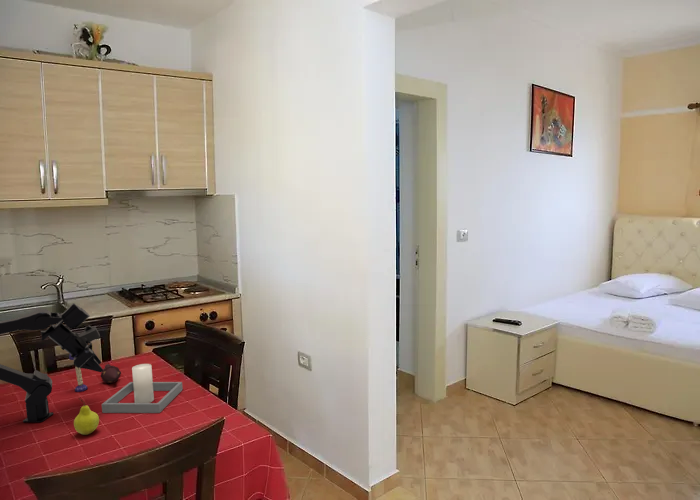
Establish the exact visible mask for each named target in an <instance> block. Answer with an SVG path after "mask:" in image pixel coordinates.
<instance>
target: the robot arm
mask: <svg viewBox="0 0 700 500" xmlns="http://www.w3.org/2000/svg"><path fill="white" fill-rule="evenodd" d="M89 317H90V315H89V313H88V312H87V311H86V310H85V309H84V308H83V307H80V306H79V305H78V304H76V303H75V302H74V303H73V302H72V304H71V305H69V307H68V308H66V309H65V311H64V312H51V311H49V310H48V309H47V308H40V309H36V310H34V311H31V312H28V313H26V314H24V315H22V316H19V317H15V318H14V317H13V318H9V319H4V320H0V335H2V334H3V335H4V334H8V333H13V332H18V331H19V332H20V331H40V335H41V341H44V340H46V339H47V338H48V337H49V339H50V340H52V341H53V342H54V343H56V344H57V345H58V346H60V349H61V350H62V351H65V352H67V353H69V354H71V357H72V358H74V360H73V365H74V366H75V367H77V368H81V369H84V370H89V371H93V372H94V371H95V372H99V373H101V372H102V371H103V369H104V368H103V367H102V366H101V363H102V361H101V359H100V357H98V355H97V354H96V353H95V352H94V350H93V342H92V341H95V340H98V339H100V338H101V335H100V332H99V331H98V329H97V327H96V326H93V327H92V326H91V325H87V326H85V327H84V331H82V333H80V334H79V333H78V332H73V331H72V330H71V329H77V328H79V327H80V326H81V325H82V324H83V323H84V322H85V321H86V320H87V319H88V318H89ZM63 323H64V324H63ZM0 381H2V382H6V383H9V384H11V385H15V386H17V387H18V388H21V389H22V390H23V391H24V392H26V394H25V399H24V403H25V410H26V418H25V419H23V420H22V422H23V423H42V422H44V421H45V420H47V419H48V418H50V417H51V416H53V415H54V412H51V411H50V408H49V401H48V396H49V395H51V393H52V391H53V380H52V378H51V377H50V376H49V375H48V373H42V372H40V371H39V370H37V369H35V370H34V372H33V373H25V372H24V371H20V370H17V369H15V368H12V367H9V366H7V365H3V364H1V363H0Z"/></svg>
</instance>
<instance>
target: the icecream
mask: <svg viewBox="0 0 700 500" xmlns="http://www.w3.org/2000/svg"><path fill="white" fill-rule="evenodd" d="M102 369H103V371H102V372H100V377H101V380H102V382H104V383H106V384H109V383H110V384H113V383H116V382H117V381H118V380H119V378H121V376H122V375H121V374H122V371H121V370H120V368H119V367H118V366H116V365H115V366H114V365H111V364H110V363H107V364H105V365H104V368H102Z"/></svg>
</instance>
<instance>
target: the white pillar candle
mask: <svg viewBox="0 0 700 500" xmlns="http://www.w3.org/2000/svg"><path fill="white" fill-rule="evenodd" d="M131 371H132V382H133V387H134V391H133V396H134V403H152V402H154V400H155V395H154V394H155V393H154V392H155V391H153V382H154V381H153V369H152V364H151V363H140V364H136V365H134V366H132V367H131Z"/></svg>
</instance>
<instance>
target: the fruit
mask: <svg viewBox="0 0 700 500" xmlns="http://www.w3.org/2000/svg"><path fill="white" fill-rule="evenodd" d="M78 400H79V401H81V402H83V405H82V406H81V408H80V409H79V413H78V414H77V415H76V416H75V418H74V420H73V426H74V427H73V428H74V429H75V431H76V432H77V433H78V434H81V435H82V436H88V435H91V434H92V433H93V432H94V431H95V430H96V429H97V428H98V427H99V423H100V416H99V415H98V414H97V412H94V411H92V410H91V409H90V407H89V405H86V404H85V402H84V400H83V399H81V398H80V397H78Z"/></svg>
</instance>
